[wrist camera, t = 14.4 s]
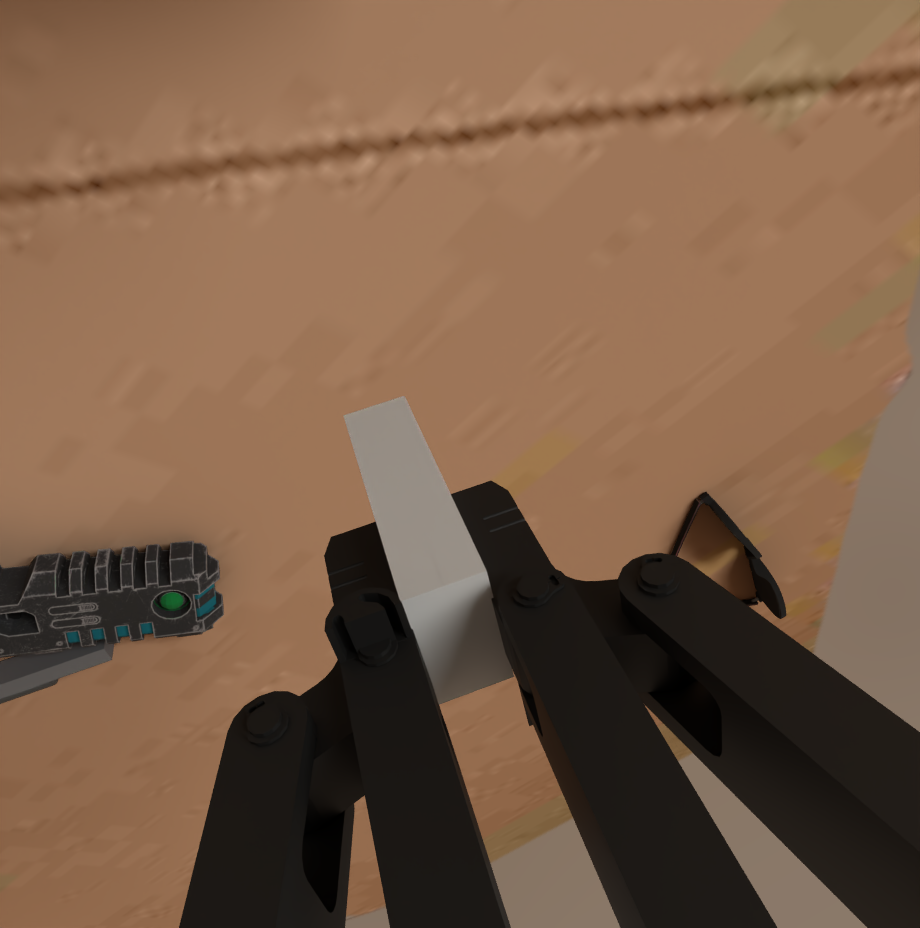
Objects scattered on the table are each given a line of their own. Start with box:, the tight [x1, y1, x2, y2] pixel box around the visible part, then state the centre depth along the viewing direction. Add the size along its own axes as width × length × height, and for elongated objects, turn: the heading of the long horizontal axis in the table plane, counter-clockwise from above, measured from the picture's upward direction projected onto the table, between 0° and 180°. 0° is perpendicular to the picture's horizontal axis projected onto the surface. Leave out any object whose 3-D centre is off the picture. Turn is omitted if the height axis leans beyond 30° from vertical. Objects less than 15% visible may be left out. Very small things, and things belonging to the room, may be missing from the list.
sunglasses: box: [671, 492, 786, 619], centre depth 68 cm, size 17×14×5 cm
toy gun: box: [0, 541, 224, 658], centre depth 50 cm, size 4×19×10 cm
